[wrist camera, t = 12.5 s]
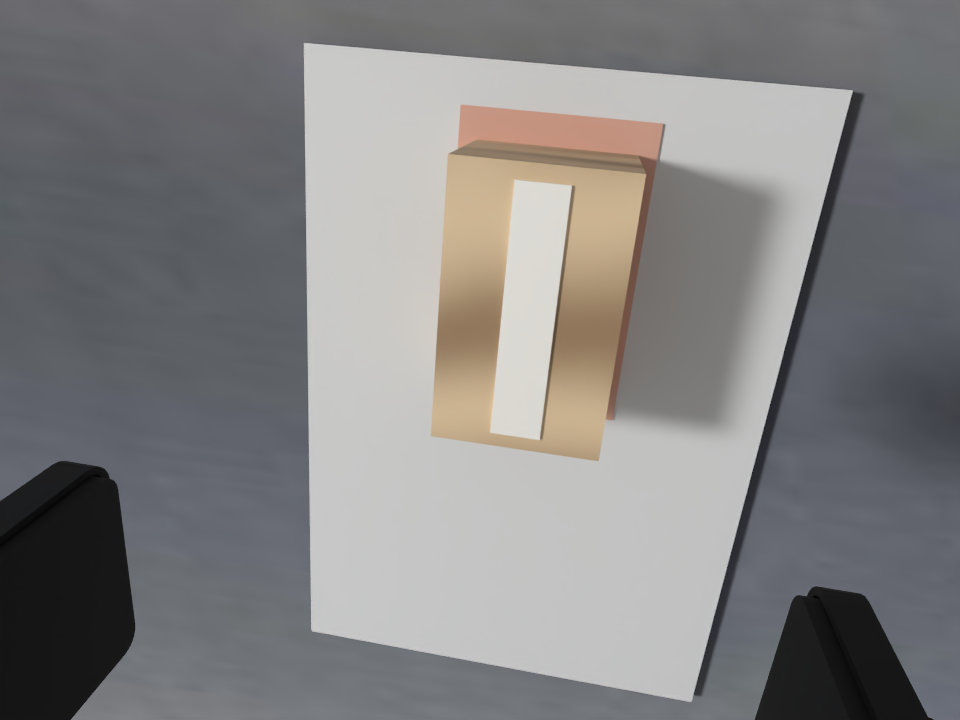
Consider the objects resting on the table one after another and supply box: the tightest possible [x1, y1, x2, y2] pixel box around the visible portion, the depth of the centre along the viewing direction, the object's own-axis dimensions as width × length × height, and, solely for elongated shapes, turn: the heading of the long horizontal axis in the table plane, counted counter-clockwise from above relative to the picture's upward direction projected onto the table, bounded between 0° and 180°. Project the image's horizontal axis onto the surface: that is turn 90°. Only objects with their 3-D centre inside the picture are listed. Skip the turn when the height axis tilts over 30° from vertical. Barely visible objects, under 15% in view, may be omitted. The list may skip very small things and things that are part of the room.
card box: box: [431, 139, 646, 461], centre depth 24 cm, size 9×6×5 cm, turn 175°
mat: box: [304, 43, 853, 702], centre depth 28 cm, size 26×18×1 cm
